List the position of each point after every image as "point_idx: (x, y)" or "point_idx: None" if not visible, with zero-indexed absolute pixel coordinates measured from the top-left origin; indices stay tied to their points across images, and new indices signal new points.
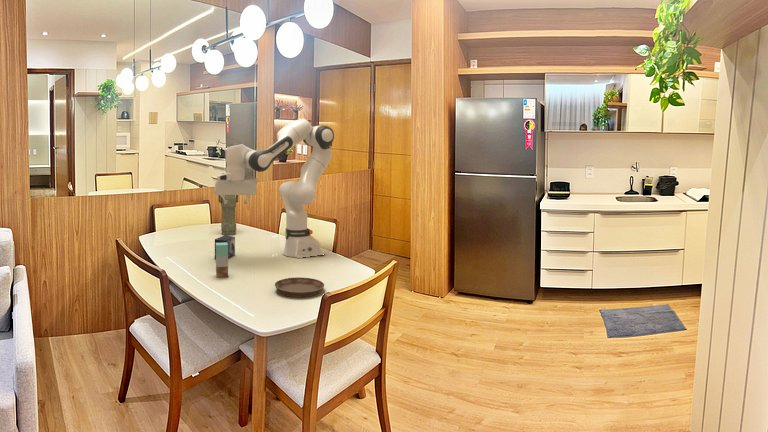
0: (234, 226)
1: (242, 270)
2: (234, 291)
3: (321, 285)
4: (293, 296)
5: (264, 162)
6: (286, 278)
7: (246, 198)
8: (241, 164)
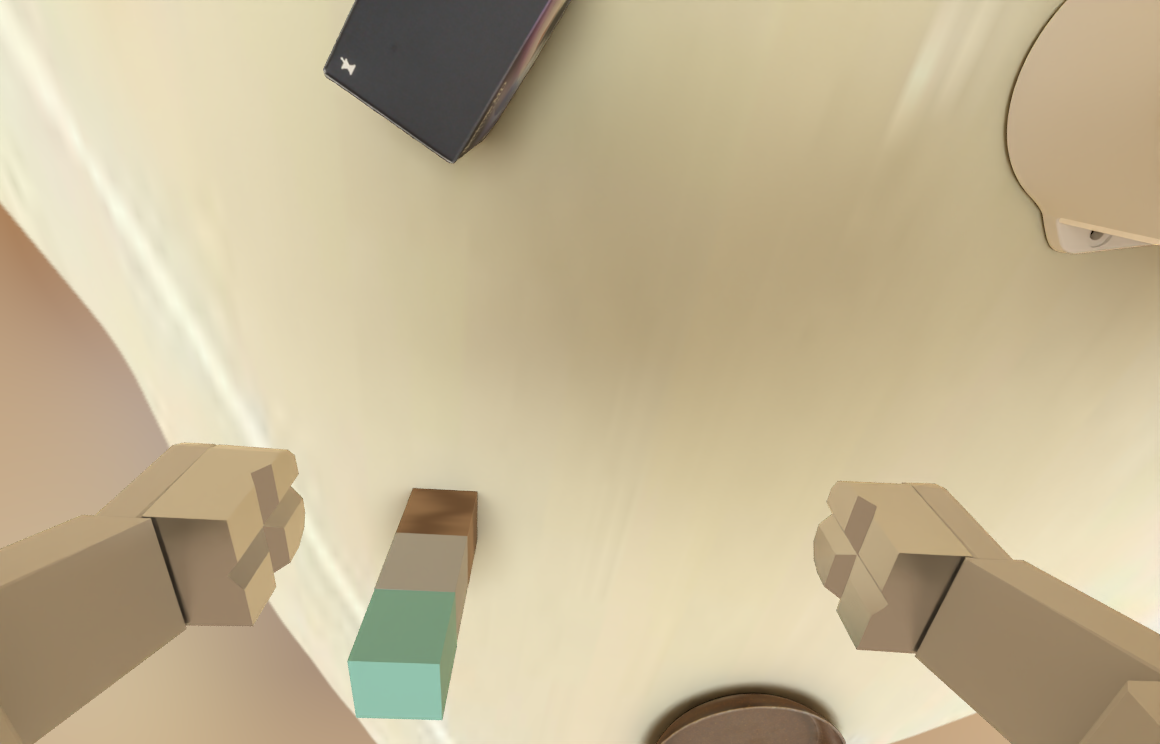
0: None
1: (570, 444)
2: (490, 703)
3: None
4: None
5: None
6: (724, 713)
7: (1038, 627)
8: None
